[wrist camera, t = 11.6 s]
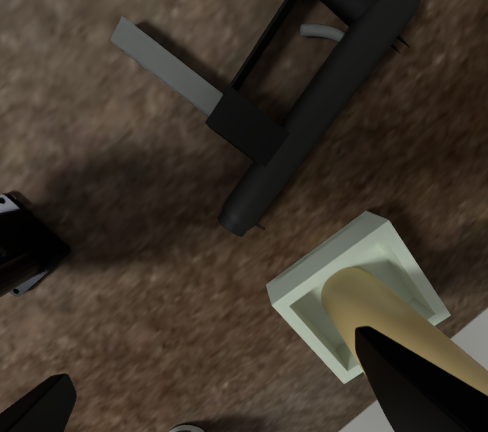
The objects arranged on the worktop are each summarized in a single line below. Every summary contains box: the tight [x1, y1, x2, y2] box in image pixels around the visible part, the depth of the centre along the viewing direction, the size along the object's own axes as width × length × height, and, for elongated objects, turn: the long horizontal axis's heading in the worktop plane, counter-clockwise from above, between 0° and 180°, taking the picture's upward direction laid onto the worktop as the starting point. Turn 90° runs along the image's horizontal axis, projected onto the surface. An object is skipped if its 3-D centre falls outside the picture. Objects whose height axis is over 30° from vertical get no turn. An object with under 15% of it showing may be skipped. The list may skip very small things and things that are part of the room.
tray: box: [266, 211, 450, 384], centre depth 21 cm, size 11×11×3 cm
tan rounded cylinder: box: [321, 267, 488, 396], centre depth 15 cm, size 5×5×14 cm
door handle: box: [110, 0, 420, 237], centre depth 16 cm, size 3×20×16 cm
